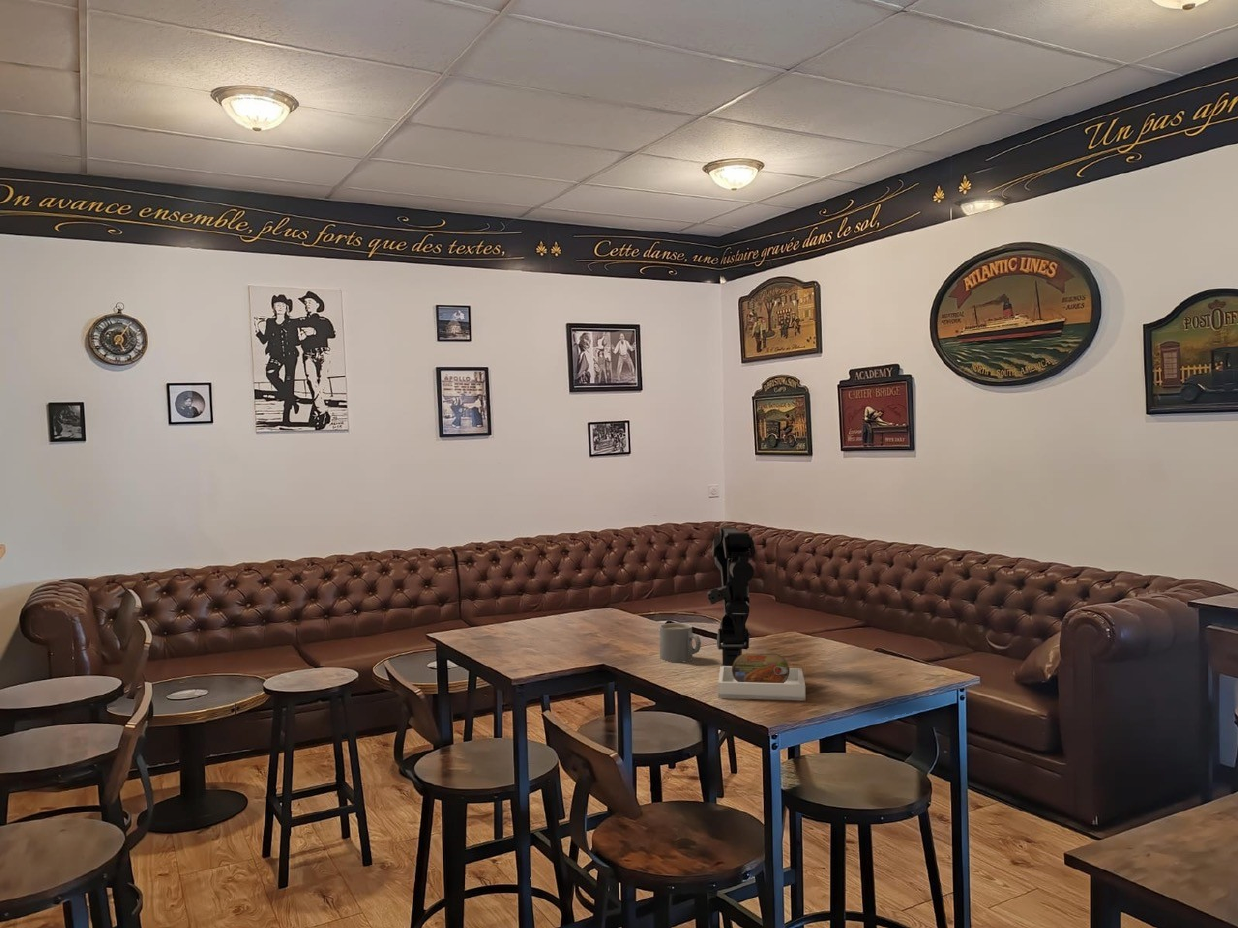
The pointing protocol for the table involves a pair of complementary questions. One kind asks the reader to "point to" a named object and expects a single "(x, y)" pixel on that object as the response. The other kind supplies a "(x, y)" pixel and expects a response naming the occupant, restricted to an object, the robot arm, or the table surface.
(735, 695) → the tray
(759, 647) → the table surface
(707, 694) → the table surface
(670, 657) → the coffee mug
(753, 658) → the tin
